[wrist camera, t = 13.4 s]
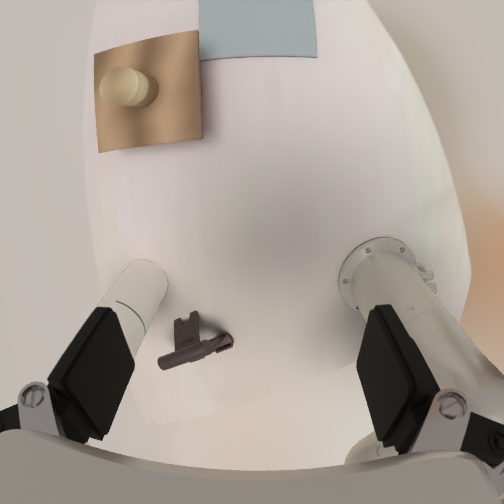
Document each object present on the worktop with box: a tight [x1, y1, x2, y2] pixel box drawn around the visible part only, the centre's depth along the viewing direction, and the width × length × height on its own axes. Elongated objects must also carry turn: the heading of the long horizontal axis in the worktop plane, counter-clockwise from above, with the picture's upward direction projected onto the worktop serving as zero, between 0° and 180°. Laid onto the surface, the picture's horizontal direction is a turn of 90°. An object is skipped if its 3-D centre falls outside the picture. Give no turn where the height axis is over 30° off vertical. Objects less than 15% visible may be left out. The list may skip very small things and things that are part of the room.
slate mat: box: [199, 0, 317, 61], centre depth 26 cm, size 14×14×1 cm
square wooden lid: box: [94, 30, 203, 153], centre depth 23 cm, size 12×12×7 cm
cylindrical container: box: [44, 259, 168, 386], centre depth 31 cm, size 7×7×25 cm
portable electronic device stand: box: [158, 311, 234, 370], centre depth 42 cm, size 9×8×8 cm
